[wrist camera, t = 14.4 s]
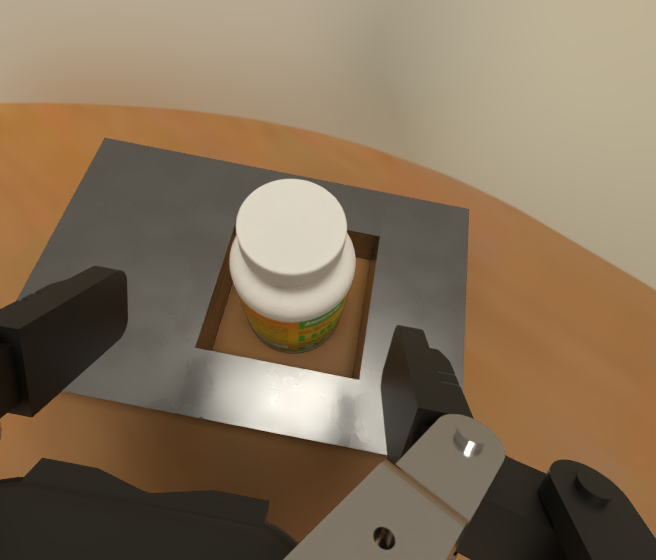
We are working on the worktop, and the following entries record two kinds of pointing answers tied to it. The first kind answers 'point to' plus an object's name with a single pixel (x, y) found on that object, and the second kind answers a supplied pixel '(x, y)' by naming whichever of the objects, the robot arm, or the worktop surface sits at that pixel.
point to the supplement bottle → (292, 263)
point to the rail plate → (215, 282)
